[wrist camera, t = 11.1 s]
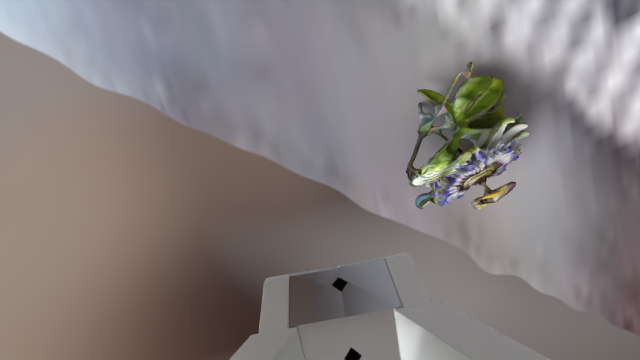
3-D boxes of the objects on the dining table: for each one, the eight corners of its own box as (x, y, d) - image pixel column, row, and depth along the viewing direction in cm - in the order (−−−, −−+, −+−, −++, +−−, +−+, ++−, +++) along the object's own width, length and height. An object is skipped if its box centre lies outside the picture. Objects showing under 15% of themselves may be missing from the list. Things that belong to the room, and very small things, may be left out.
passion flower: (440, 147, 47) (431, 238, 40) (381, 83, 41) (359, 176, 35) (544, 107, 39) (555, 213, 32) (488, 24, 34) (487, 128, 27)
